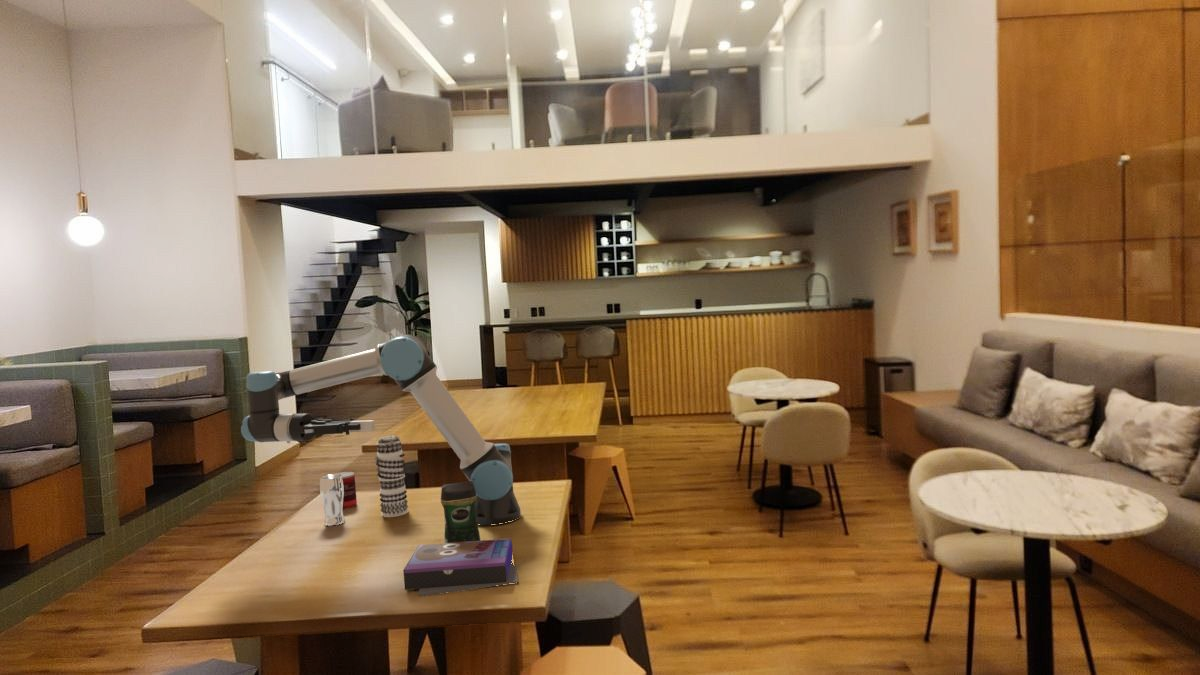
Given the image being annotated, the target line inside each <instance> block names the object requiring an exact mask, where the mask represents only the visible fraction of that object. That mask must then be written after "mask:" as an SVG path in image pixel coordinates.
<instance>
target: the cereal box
mask: <svg viewBox="0 0 1200 675" xmlns="http://www.w3.org/2000/svg"><path fill="white" fill-rule="evenodd" d="M512 552H513V553H514V550H513V543H512V538H498V539H497V538H495V539H485V540H483V539H482V540H481V539H480V541H467V542H454V543H445V542H442V543H429V544H419V545H417V547H416V549H415V551H414V552H413V553H412V556H411V557H410V558H409V560H408V562H407V564H406V565H405V567H404V568H403V581H404V590H406V591H407V590H409V591H410V590H419V589H421V588H435V587H448V586H461V585H474V584H488V583H501V582H506V581H507V577H508V572H509V568H510V564H511V560H512Z"/></svg>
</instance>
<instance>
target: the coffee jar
mask: <svg viewBox="0 0 1200 675" xmlns="http://www.w3.org/2000/svg"><path fill="white" fill-rule="evenodd" d="M440 493H441V494H440V503H441V506H442V508H443V513H444V543H454V542H467V541H481V537H480V536H481V535H480V531H479V525H477V519H476V512H475V502H476V497H477V496H476V491H475V487H474V484H473V482H472V481H469V480H468V481H460V482H454V483H452V482H451V483H446V484H445V483H444V484H443V485H442V486H441V491H440Z"/></svg>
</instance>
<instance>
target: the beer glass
mask: <svg viewBox="0 0 1200 675" xmlns="http://www.w3.org/2000/svg"><path fill="white" fill-rule="evenodd" d="M319 492H320V499H321V502H322V506H323V509H324V514H325V516H324V526H326V527H334V526H333V525H336V526H340V525H343V524H344V523H346V519H345V516H344V515H345V514H344V511H343V510H344V509H343V498H344V487H343V480H342V475H341V474H336V473H332V474H331V473H330V474H326V475H322V476H321V477H319ZM342 523H343V524H342ZM339 524H340V525H339ZM327 525H328V526H327Z"/></svg>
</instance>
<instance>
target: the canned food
mask: <svg viewBox="0 0 1200 675" xmlns="http://www.w3.org/2000/svg"><path fill="white" fill-rule="evenodd" d="M335 474H341V475H342V480H343V487H344V498H343V510H346V509H345V508H347V509H351V508H354V507H356V506H357V502H358V501H357V489H356V477H355V472H352V471H343V472H336V473H335ZM353 506H354V507H353ZM350 507H351V508H350Z"/></svg>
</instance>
